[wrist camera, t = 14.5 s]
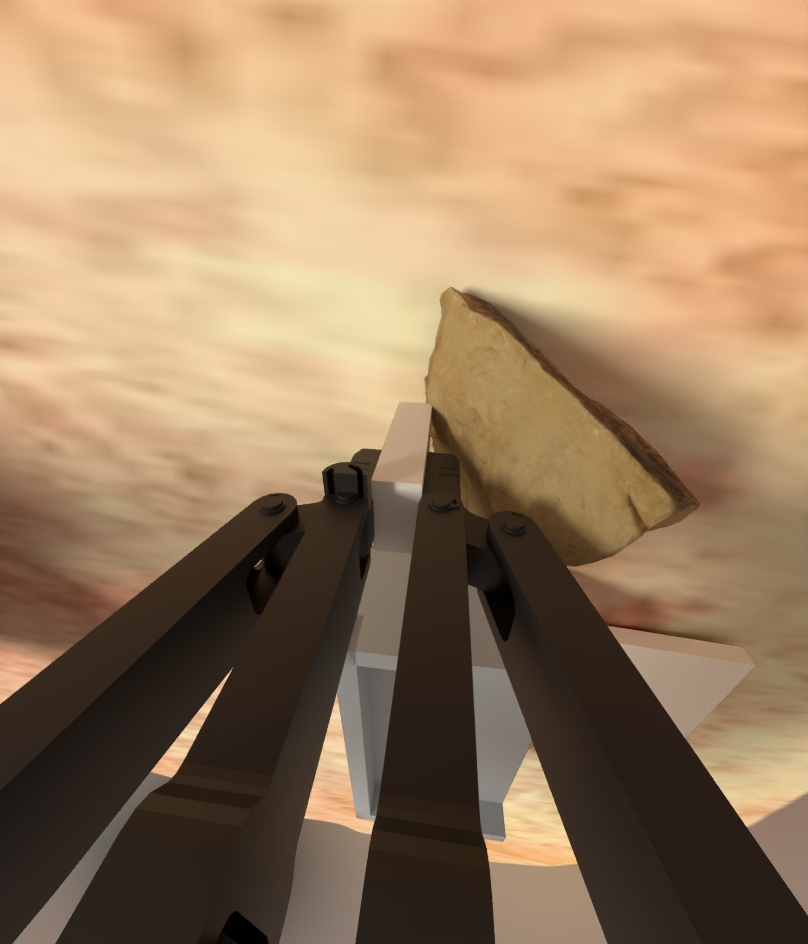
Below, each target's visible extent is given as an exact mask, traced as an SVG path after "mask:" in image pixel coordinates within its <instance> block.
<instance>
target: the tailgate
mask: <svg viewBox="0 0 808 944" xmlns="http://www.w3.org/2000/svg"><path fill="white" fill-rule="evenodd" d="M608 628H609V629H610V631H611V632H612V633H613V635H614V636H615V638H616V639H617V641H618V642H619V644H620V645H621V646H622V648H623V649H624V651H625V652H626V654H627V655H628V657H629V658H630V659H631V661H632V662H633V664H634V665H635V667H636V668H637V670H638V671H639V672H640V674H641V675H642V677H643V678H644V680H645V681H646V683H647V684H648V685H649V687H650V688H651V690H652V691H653V693H654V694H655V696H656V697H657V698H658V700H659V701H660V703H661V704H662V706H663V707H664V709H665V710H666V711H667V713H668V714H669V716H670V717H671V719H672V720H673V722H674V723H675V724H676V726H677V727H678V729H679V730H680V732H681V733H682V735H683V736H684V737H685V738H686V737H687V736H688V735H689V734H690V733H691V732H692V731H693V730H694V729H695V728H696V727H697V726H698V725H699V724H700V723H701V722H702V721H703V720H704V719H705V717H706V716H707V715H708V714H709V713H710V712H711V711H712V710H713V709H714V708H715V707H716V706H717V705H718V704H719V703H720V702H721V701H722V700H723V699H724V698H725V697H726V696H727V695H728V694H729V693H730V692H731V691H732V690H733V689H734V688H735V687H736V686H737V685H738V684H739V682H740V681H741V680H742V679H743V678H744V677H745V676H746V675H747V674H748V673H749V672H750V671H751V670H752V669H753V668H754V667H755V666H756V665H755V664H754V662H753V661H752V659H751V658H750V656H749V655H748V654H747V652H746V651H745V649H744V648H743V647H738V646H732V645H725V644H719V643H713V642H707V641H700V640H694V639H688V638H681V637H675V636H669V635H663V634H656V633H650V632H644V631H638V630H631V629H625V628H619V627H612V626H608Z"/></svg>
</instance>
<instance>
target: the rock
mask: <svg viewBox="0 0 808 944" xmlns="http://www.w3.org/2000/svg"><path fill="white" fill-rule="evenodd" d="M440 303H441V309H442V316H441V321H440V324H439V328H438V332H437V336H436V342H435V348H434V351H433V353H432V355H431V358H430V362H429V370H428V375H427V376H426V377H425V379H424V381H425V388H426V400H427V403H429V404H430V405H431V406H432V414H431V432H430V436H431V437H432V438H433V445H434V450H435V451H434V453H447V454H454V455H455V456H456V458H457V459H458V460H459V467H460V489H461V501H462V502H463V505H464V507H465V508H466V509H467V510H468V511H469V512H471V513H473V514H475V515H477V516H480V517H483V518H486V519H489V520H490V518H491V516H492V515H493V514H495V513H497V512H501V511H515V512H518V513H522V514H524V515H526V516H528V517H530V518H531V519H532V520H533V521H534V522H535V523H536V524H537V525H538V526H539V528H540V529H541V531H542V532H543V534H544V535H545V537H546V538H547V539H548V541H549V542H550V544H551V545H552V547H553V548H554V550H555V551H556V552H557V554H558V555H559V557H560V558H561V560H562V561H563V563H564V564H565V565H566V566H580V565H584V564H589V563H593V562H596V561H599V560H602V559H605V558H608V557H610V556H613V555H615V554H616V553H618V552H619V551H620V550H622V549H623V548H625V547H626V546H627V545H629V544H630V543H632V542H634V541H635V540H636V539H638V538H639V537H641V536H642V535H643V534H644V533H645V532H647V531H651V530H655V529H658V528H662V527H667V526H670V525H672V524H675V523H677V522H680V521H681V520H682V519H684V518H685V517H686V516H688V515H689V514H690V513H692V512H693V511H694V510H696V509H697V508H698V507H699V505H700V502H699V501H698V500H697V498H696V497H695V496H694V495H693V494H692V493H691V492H690V491H689V490H688V489H687V487H686V486H685V485H684V484H683V483H682V482H681V481H680V480H679V478H678V477H677V476H676V474H675V473H674V472H673V471H672V469H671V468H670V467H669V465H668V464H667V463H666V461H665V460H664V459H663V458H662V456H661V455H660V454H659V453H658V452H657V451H656V450H655V448H653V447H652V446H651V445H650V444H648V443H647V442H646V441H645V440H644V439H643V438H642V437H641V436H640V435H639V434H638V433H637V432H636V431H635V430H634V429H633V428H632V427H631V426H630V425H629V424H627V423H626V422H624V421H623V420H621V419H620V418H618V417H617V416H616V415H615V414H614V413H613V412H612V411H610V410H609V409H608V408H606V407H605V406H604V405H602V404H601V403H599V402H596V401H594V400H592V399H590V398H589V397H587V396H586V395H585V394H583V393H582V392H580V391H579V390H578V389H576V388H574V387H573V386H572V385H571V384H570V383H569V381H568V380H567V379H566V378H565V377H564V376H563V375H562V374H561V372H560V371H559V370H558V368H557V367H556V366H555V364H554V363H553V362H552V361H551V360H550V359H549V358H548V357H547V356H546V355H545V354H544V353H543V352H542V351H541V350H540V349H538V348H537V347H536V346H535V345H534V344H533V343H531V342H530V341H529V340H528V339H527V338H526V337H525V336H524V335H523V334H522V333H521V332H520V331H519V330H518V329H517V328H516V327H515V326H514V325H513V323H512V322H511V321H509V320H508V319H507V318H506V317H504V316H503V315H502V314H501V313H500V312H498V311H497V310H496V309H495V308H494V307H493V306H491V305H490V304H488V303H487V302H485V301H483V300H481V299H479V298H476V297H473V296H470V295H467V294H463V293H461V292H459V291H457V290H456V289H454V288H453V287H450V288H448V289H447V290H445V291H444V292H443V293H442V294H441V298H440Z"/></svg>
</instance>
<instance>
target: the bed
mask: <svg viewBox="0 0 808 944" xmlns="http://www.w3.org/2000/svg"><path fill="white" fill-rule="evenodd" d="M411 556H412V554H410V553H400V552H389V551H379V550H374V547H372V546H371V563H370V567H369V571H368V575H367V579H366V583H365V586H364V590H363V594H362V598H361V602H360V606H359V609H358V613H357V617H356V621H355V625H354V629H353V632H352V636H351V640H350V644H349V648H348V651H347V655H346V659H345V663H344V667H343V671H342V674H341V678H340V682H339V686H338V690H337V695H338V702H339V708H340V714H341V721H342V727H343V734H344V740H345V747H346V753H347V760H348V766H349V773H350V779H351V786H352V792H353V799H354V805H355V811H356V818H360V819H366V820H372V821H375V818H376V813H377V807H378V801H379V794H380V787H381V779H382V772H383V765H384V757H385V750H386V742H387V735H388V727H389V720H390V712H391V705H392V698H393V690H394V683H395V675H396V668H397V660H398V653H399V645H400V638H401V631H402V623H403V616H404V608H405V601H406V593H407V586H408V578H409V571H410V564H411ZM468 595H469V614H470V634H471V653H472V672H473V692H474V711H475V731H476V750H477V769H478V789H479V808H480V822H481V829H482V834H483V838H484V839H489V840H495V841H501V842H503V841H504V839H505V838H506V835H505V825H504V815H503V805H502V803H503V801H504V799H505V797H506V795H507V793H508V790H509V788H510V786H511V784H512V782H513V780H514V778H515V776H516V773H517V771H518V769H519V767H520V765H521V763H522V761H523V759H524V756H525V754H526V752H527V750H528V748H529V746H530V744H531V741H532V739H531V736H530V734H529V731H528V728H527V725H526V723H525V720H524V717H523V715H522V712H521V709H520V707H519V704H518V701H517V699H516V696H515V693H514V690H513V688H512V685H511V682H510V680H509V677H508V674H507V672H506V669H505V666H504V664H503V661H502V658H501V656H500V653H499V650H498V647H497V645H496V642H495V639H494V637H493V634H492V631H491V629H490V626H489V623H488V621H487V618H486V615H485V612H484V610H483V607H482V604H481V602H480V599H479V596H478V594H477V588H475V587H473V586H470V585H468Z"/></svg>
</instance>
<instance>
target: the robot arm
mask: <svg viewBox="0 0 808 944" xmlns="http://www.w3.org/2000/svg"><path fill="white" fill-rule="evenodd" d="M431 414H432V406H431V405H430V404H429V403H413V402H399V404H398V407H397V410H396V413H395V415H394V418H393V421H392V424H391V427H390V429H389V432H388V435H387V438H386V440H385V443H384V446H383V449H382V450H376V449H361V450H360V451H359V452H357V453H356V454H354V456H353V458H352V460H351V462H341V463H336V464H333V465H330V466H328V467H326V468H325V469H324V470H323V471H322V475H323V483H324V492H325V496H324V498H323V500H322V501H321V502H317V503H312V504H305V505H297V501H296V499H295V498H294V497H293V496H291V495H289V494H284V493H275V494H269V495H266V496H263V497H260V498H259V499H257V500H255V501H254V502H253V503H251V504H250V505H249V506H248V507H246V508H245V509H244V510H243V511H241V512H240V513H239V514H238V515H236V516H235V517H234V518H233V519H231V520H230V521H229V522H228V523H226V524H225V525H224V526H223V527H221V528H220V529H219V530H218V531H216V532H215V533H214V534H213V535H211V536H210V537H209V538H208V539H206V540H205V541H204V542H203V543H201V544H200V545H199V546H198V547H196V548H195V549H194V550H193V551H191V552H190V553H189V554H188V555H186V556H185V557H184V558H183V559H181V560H180V561H179V562H178V563H176V564H175V565H174V566H173V567H171V568H170V569H169V570H168V571H166V572H165V573H164V574H163V575H161V576H160V577H159V578H158V579H156V580H155V581H154V582H153V583H151V584H150V585H149V586H148V587H146V588H145V589H144V590H143V591H141V592H140V593H139V594H138V595H136V596H135V597H134V598H133V599H131V600H130V601H129V602H128V603H126V604H125V605H124V606H123V607H121V608H120V609H119V610H118V611H116V612H115V613H114V614H113V615H111V616H110V617H109V618H108V619H106V620H105V621H104V622H103V623H101V624H100V625H99V626H98V627H96V628H95V629H94V630H93V631H91V632H90V633H89V634H88V635H86V636H85V637H84V638H83V639H81V640H80V641H79V642H78V643H76V644H75V645H74V646H73V647H71V648H70V649H69V650H68V651H66V652H65V653H64V654H63V655H61V656H60V657H59V658H58V659H56V660H55V661H54V662H52V663H51V664H50V665H49V666H47V667H46V668H45V669H44V670H42V671H41V672H40V673H39V674H37V675H36V676H35V677H34V678H32V679H31V680H30V681H29V682H27V683H26V684H25V685H24V686H22V687H21V688H20V689H19V690H17V691H16V692H15V693H14V694H12V695H11V696H10V697H9V698H7V699H6V700H5V701H4V702H2V703H1V704H0V944H12V943H13V942H14V941H15V940H16V939H17V937H18V936H19V935H20V934H21V933H22V931H23V930H24V929H25V928H26V927H27V925H28V924H29V923H30V922H31V920H32V919H33V918H34V917H35V916H36V915H37V913H38V912H39V911H40V910H41V909H42V907H43V906H44V905H45V904H46V903H47V901H48V900H49V899H50V898H51V897H52V895H53V894H54V893H55V892H56V890H57V889H58V888H59V887H60V885H61V884H62V883H63V882H64V880H65V879H66V878H67V877H68V875H69V874H70V873H71V871H72V870H73V869H74V868H75V866H76V865H77V864H78V862H79V861H80V860H81V859H82V858H83V856H84V855H85V854H86V852H87V851H88V850H89V848H90V847H91V846H92V845H93V844H94V842H95V841H96V840H97V838H98V837H99V836H100V834H102V832H103V831H104V830H105V829H106V827H107V826H108V825H109V823H110V822H111V821H112V819H113V818H114V817H115V816H116V815H117V813H118V812H119V811H120V810H121V808H122V807H123V806H124V804H125V803H126V802H127V801H128V799H129V798H130V797H131V796H132V794H133V793H134V792H135V791H136V789H137V788H138V787H139V786H140V784H141V783H142V782H143V780H144V779H145V778H146V777H147V775H148V774H149V773H150V772H151V770H152V769H153V768H154V767H155V765H156V764H157V763H158V761H159V760H160V759H161V758H162V756H163V755H164V754H165V753H166V751H167V750H168V749H169V748H170V746H171V745H172V744H173V743H174V741H175V740H176V739H177V737H178V736H179V735H180V734H181V732H182V731H183V730H184V729H185V727H186V726H187V725H188V724H189V722H190V721H191V720H192V718H193V717H194V716H195V715H196V713H197V712H198V711H199V710H200V708H201V707H202V706H203V705H204V703H205V702H206V701H207V699H208V698H209V697H210V696H211V694H212V693H213V692H214V691H215V689H216V688H217V687H218V686H219V684H220V683H221V682H222V681H223V679H224V678H225V677H226V675H227V674H228V673H229V672H230V670H231V669H232V668H233V669H232V671H231V673H230V675H229V677H228V679H227V680H226V682H225V684H224V686H223V688H222V690H221V692H220V694H219V695H218V697H217V699H216V701H215V703H214V705H213V707H212V709H211V711H210V712H209V714H208V716H207V718H206V720H205V722H204V724H203V726H202V727H201V729H200V731H199V733H198V735H197V737H196V739H195V741H194V743H193V744H192V746H191V748H190V750H189V752H188V754H187V756H186V758H185V759H184V761H183V763H182V765H181V766H180V768H179V770H178V771H177V773H176V774H175V775H174V776H173V777H172V779H171V780H170V781H169V782H168V783H166V784H164V785H163V786H161V787H159V788H158V789H156V790H154V791H152V792H151V793H149V795H148V796H147V797H146V798H145V799H144V800H143V801H142V802H141V803H140V804H139V805H138V806H137V808H136V809H135V810H134V812H133V813H132V815H131V816H130V818H129V819H128V821H127V822H126V824H125V825H124V827H123V828H122V830H121V831H120V833H119V834H118V836H117V838H116V840H115V841H114V843H113V845H112V846H111V848H110V850H109V852H108V854H107V855H106V857H105V859H104V860H103V862H102V864H101V866H100V867H99V869H98V871H97V872H96V874H95V876H94V878H93V879H92V881H91V883H90V885H89V886H88V888H87V890H86V892H85V894H84V895H83V897H82V899H81V900H80V902H79V904H78V905H77V907H76V909H75V911H74V913H73V914H72V916H71V918H70V919H69V921H68V923H67V925H66V926H65V928H64V930H63V932H62V933H61V935H60V937H59V938H58V940H57V942H56V944H279V941H280V937H281V933H282V929H283V925H284V921H285V917H286V912H287V908H288V903H289V899H290V894H291V888H292V882H293V875H294V863H295V855H296V849H297V843H298V840H299V835H300V831H301V828H302V824H303V820H304V816H305V812H306V808H307V805H308V801H309V797H310V793H311V789H312V785H313V782H314V778H315V774H316V770H317V766H318V762H319V759H320V755H321V751H322V747H323V743H324V740H325V736H326V732H327V728H328V724H329V720H330V717H331V713H332V709H333V705H334V701H335V697H336V694H337V690H338V686H339V682H340V678H341V674H342V671H343V667H344V663H345V659H346V655H347V651H348V648H349V644H350V640H351V636H352V632H353V629H354V625H355V621H356V617H357V613H358V609H359V606H360V602H361V598H362V594H363V590H364V586H365V583H366V579H367V575H368V571H369V567H370V563H371V546H372V543H373V545H374V550H379V551H389V552H400V553H410V554H412V556H411V564H410V571H409V578H408V586H407V593H406V601H405V608H404V616H403V623H402V631H401V638H400V645H399V653H398V660H397V668H396V675H395V683H394V690H393V698H392V705H391V712H390V720H389V727H388V735H387V742H386V750H385V757H384V765H383V772H382V779H381V787H380V794H379V801H378V807H377V813H376V818H375V822H374V826H373V829H372V835H371V841H370V846H369V852H368V859H367V866H366V872H365V879H364V887H363V894H362V901H361V908H360V915H359V922H358V930H357V937H356V943H355V944H495V935H494V920H493V905H492V904H493V903H492V891H491V879H490V868H489V861H488V854H487V848H486V845H485V841H484V838H483V834H482V829H481V822H480V808H479V789H478V769H477V750H476V731H475V711H474V692H473V672H472V653H471V634H470V614H469V595H468V585H470V586H473V587H475V588H477V594H478V596H479V599H480V602H481V604H482V607H483V610H484V612H485V615H486V618H487V621H488V623H489V626H490V629H491V631H492V634H493V637H494V639H495V642H496V645H497V647H498V650H499V653H500V656H501V658H502V661H503V664H504V666H505V669H506V672H507V674H508V677H509V680H510V682H511V685H512V688H513V690H514V693H515V696H516V699H517V701H518V704H519V707H520V709H521V712H522V715H523V717H524V720H525V723H526V725H527V728H528V731H529V734H530V736H531V739H532V742H533V744H534V747H535V750H536V752H537V755H538V758H539V760H540V763H541V766H542V769H543V771H544V774H545V777H546V779H547V782H548V785H549V787H550V790H551V793H552V795H553V798H554V801H555V804H556V806H557V809H558V812H559V814H560V817H561V820H562V822H563V825H564V828H565V830H566V833H567V836H568V838H569V841H570V844H571V847H572V849H573V852H574V855H575V857H576V860H577V863H578V865H579V868H580V871H581V873H582V876H583V878H584V882H585V884H586V887H587V890H588V892H589V895H590V898H591V900H592V903H593V906H594V908H595V911H596V914H597V916H598V919H599V922H600V924H601V927H602V930H603V933H604V935H605V938H606V941H607V943H608V944H808V915H807V914H806V912H805V911H804V910H803V908H802V907H801V905H800V904H799V902H798V901H797V899H796V898H795V897H794V895H793V894H792V892H791V891H790V889H789V888H788V886H787V885H786V884H785V882H784V881H783V879H782V878H781V876H780V875H779V873H778V872H777V871H776V869H775V868H774V866H773V865H772V863H771V862H770V860H769V859H768V858H767V856H766V855H765V853H764V852H763V850H762V849H761V847H760V846H759V844H758V843H757V842H756V840H755V839H754V837H753V836H752V834H751V833H750V832H749V830H748V829H747V827H746V826H745V824H744V823H743V821H742V820H741V818H740V817H739V816H738V814H737V813H736V811H735V810H734V808H733V807H732V805H731V804H730V803H729V801H728V800H727V798H726V797H725V795H724V794H723V792H722V791H721V790H720V788H719V787H718V785H717V784H716V782H715V781H714V779H713V778H712V777H711V775H710V774H709V772H708V771H707V769H706V768H705V766H704V765H703V764H702V762H701V761H700V759H699V758H698V756H697V755H696V753H695V752H694V750H693V749H692V748H691V746H690V745H689V743H688V742H687V740H686V739H685V737H684V736H683V735H682V733H681V732H680V730H679V729H678V727H677V726H676V724H675V723H674V722H673V720H672V719H671V717H670V716H669V714H668V713H667V711H666V710H665V709H664V707H663V706H662V704H661V703H660V701H659V700H658V698H657V697H656V696H655V694H654V693H653V691H652V690H651V688H650V687H649V685H648V684H647V683H646V681H645V680H644V678H643V677H642V675H641V674H640V672H639V671H638V670H637V668H636V667H635V665H634V664H633V662H632V661H631V659H630V658H629V657H628V655H627V654H626V652H625V651H624V649H623V648H622V646H621V645H620V644H619V642H618V641H617V639H616V638H615V636H614V635H613V633H612V632H611V631H610V629H609V628H608V626H607V625H606V623H605V622H604V620H603V619H602V618H601V616H600V615H599V613H598V612H597V610H596V609H595V607H594V606H593V605H592V603H591V602H590V600H589V599H588V597H587V596H586V594H585V593H584V592H583V590H582V589H581V587H580V586H579V584H578V583H577V581H576V580H575V579H574V577H573V576H572V574H571V573H570V571H569V570H568V568H567V567H566V565H565V564H564V563H563V561H562V560H561V558H560V557H559V555H558V554H557V552H556V551H555V550H554V548H553V547H552V545H551V544H550V542H549V541H548V539H547V538H546V537H545V535H544V534H543V532H542V531H541V529H540V528H539V526H538V525H537V524H536V523H535V522H534V521H533V520H532V519H531V518H530V517H528V516H526V515H524V514H522V513H518V512H515V511H501V512H497V513H495V514H493V515H492V516H491V518H490V520H489V519H486V518H483V517H480V516H477V515H475V514H473V513H471V512H469V511H468V510H467V509H466V508H465V507H464V505H463V502H462V501H461V489H460V467H459V460H458V459H457V458H456V456H455V455H454V454H447V453H433V452H429V448H430V432H431ZM261 559H262V561H261V562H260V563H259V564H258V565H257V566H255V565H256V564H257V563H258V562H259V561H260V560H261ZM254 566H255V567H254Z"/></svg>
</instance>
